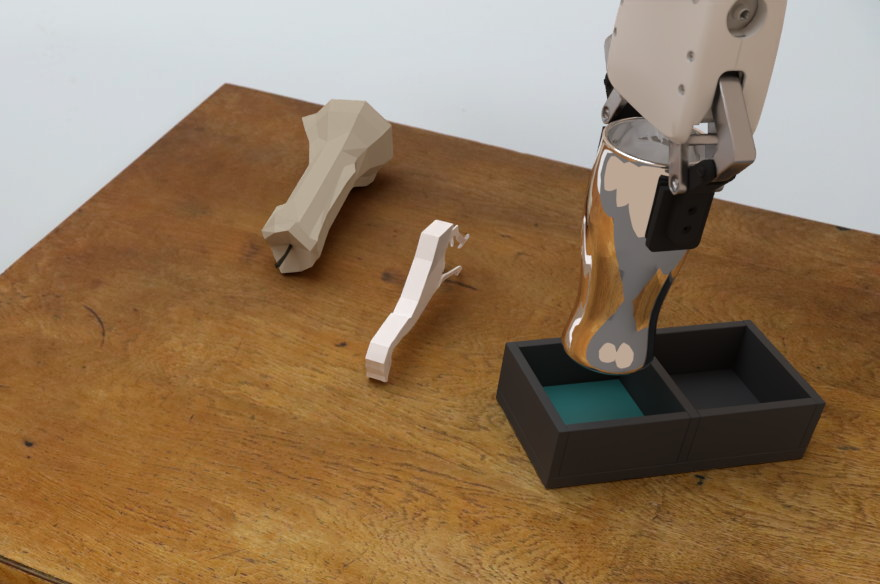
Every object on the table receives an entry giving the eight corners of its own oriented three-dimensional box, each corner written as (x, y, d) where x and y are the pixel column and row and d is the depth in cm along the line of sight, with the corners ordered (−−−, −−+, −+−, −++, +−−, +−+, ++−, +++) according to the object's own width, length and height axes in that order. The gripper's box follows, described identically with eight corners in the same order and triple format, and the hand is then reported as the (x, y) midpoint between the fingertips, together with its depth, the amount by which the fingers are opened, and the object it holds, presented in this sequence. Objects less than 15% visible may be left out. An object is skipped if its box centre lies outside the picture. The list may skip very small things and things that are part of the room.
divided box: (731, 373, 85) (750, 319, 82) (803, 458, 77) (826, 402, 74) (495, 397, 81) (505, 342, 78) (545, 489, 74) (559, 432, 70)
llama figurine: (423, 340, 97) (357, 381, 81) (454, 213, 94) (391, 229, 77) (443, 346, 96) (380, 388, 80) (474, 218, 93) (415, 235, 77)
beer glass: (682, 358, 73) (747, 150, 64) (608, 393, 70) (665, 178, 61) (604, 307, 77) (654, 105, 68) (532, 338, 74) (574, 130, 65)
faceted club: (411, 163, 108) (339, 307, 90) (329, 169, 111) (244, 310, 93) (394, 77, 103) (314, 211, 85) (309, 86, 106) (215, 218, 88)
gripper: (889, -40, 51) (772, 287, 62) (705, -135, 64) (636, 148, 75) (740, -36, 49) (648, 298, 60) (584, -134, 63) (531, 154, 73)
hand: (642, 213), depth 67 cm, fingers closed on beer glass, 7 cm apart
